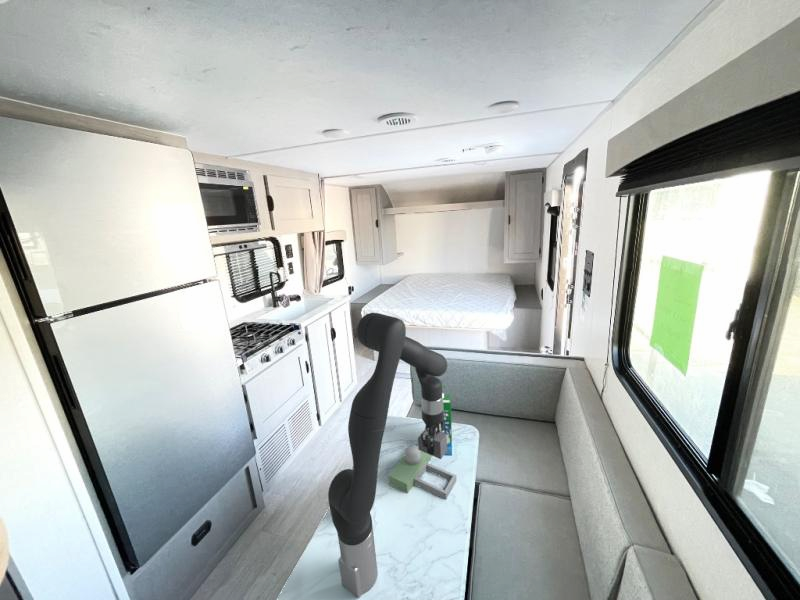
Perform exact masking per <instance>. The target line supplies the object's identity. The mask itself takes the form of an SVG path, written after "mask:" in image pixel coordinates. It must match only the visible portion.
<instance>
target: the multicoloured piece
mask: <svg viewBox="0 0 800 600" xmlns="http://www.w3.org/2000/svg"><path fill="white" fill-rule="evenodd" d="M431 456H432V455H430V454H427V453H425V452H422V451H420V450H418V445H416V444H412V445H408V446H406V448H405V450H404V455H403V457H402V458H401V459H400V460H399V462H398V463H397V464H396V466H395V467H394V468H393V469H392V470H391V472H390V473H389V474H388V483H389V485H390V484H391V485H390V486H392V485H393V486H392V487H394V486H395V488H396V487H397V489H398V488H399V490H400V489H401V491H402V490H403V491H402V492H404V491H405V493H406V492H407V493H406V494H409V492H410V491H411V489H412V488H413V486H414V485H415V484H416V485H415V486H417V485H418V486H417V487H419V486H420V487H419V488H421V487H422V488H421V489H423V488H424V489H423V490H425V489H426V490H425V491H427V490H429V491H428V492H429V493H432V494H434V495H435V496H438V497H441V498H442V497H443V499H444V500H447V499H448V497H449V495H450V493H451V491H452V490H453V488H454V487H455V484H456V482H457V474H454V473H452V472H450V471H447V470H444V469H442V468H441V467H437V466H436V465H433V464H431V463H430V462H431V460H432V459H431V458H432V457H431ZM429 461H430V462H429ZM428 462H429V463H428ZM428 470H429V471H428ZM425 471H428V472H430V471H431V472H430V473H432V472H433V473H432V474H434V473H435V475H437V476H439V475H440V476H439V477H441V476H442V478H444V479H446V480H449V481H448V484H447V486H446V487H445V489H443V488H441V487H438V486H436V485H434V484H432V483H430V482H428V481H425V480H423V479H422V478H423V476H424V475H423V474H425V473H426V472H425ZM424 472H425V473H424ZM422 475H423V476H422ZM421 477H422V478H421ZM420 478H421V479H420ZM413 484H414V485H413ZM411 487H412V488H411ZM409 490H410V491H409Z"/></svg>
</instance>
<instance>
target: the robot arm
mask: <svg viewBox="0 0 800 600" xmlns="http://www.w3.org/2000/svg"><path fill="white" fill-rule="evenodd" d="M360 318H361V319H360V320H359V322H358V323H357V326H356V337H357V339H358V341H359V343H360V344H361V345H363V346H364V347H365V348H367V349H368V350H371V351H376V353H377V352H378V357H377V361H376V365H375V369H374V371H373V373H372V375H371V377H370V378H369V379H368V380H367V382H366V383H365V384H363V386H361V388H360V389H359V390H358V392H356V394H355V396H353V399H352V404H351V407H350V412H349V417H348V418H349V419H348V424H347V425H348V426H347V431H348V439H349V440H348V441H349V447H350V451H351V457H352V466H353V467H352V469H351V468H347V469H343V470H340V471H339V472H338V473H336V475H334V477H333V478H332V480H331V483H330V484H329V488H328V493H327V496H328V497H327V498H328V499H327V500H328V504H329V505H328V506H329V510H330V514H331V519H332V521H331V522H332V523H333V525H334V528H335V530H336V533H337V539H338V544H339V545H338V547H339V553H340V557H338V560H337V561H338V566H339V573H340V574H339V575H340V579H341V585H342V586H343V587H344V588H346V589H347V590H348V591H349V592H350V593H352V594H353V595H354V596H355V597H357V598H360V597H361V596H362V594H365V593H367V592H369V590H371V589H372V588H373V587H374V585H375V584H376V582H377V579H378V574H379V573H378V564H377V555H376V554H377V553H376V546H375V537H374V527H373V520H372V518H373V517H372V515H371V511H372V509H373V506H374V503H375V499H376V493H377V483H378V482H377V481H378V472H379V462H380V455H381V450H382V444H383V443H382V442H383V439H384V435H385V433H384V432H385V429H386V425H387V424H386V423H387V419H388V413H389V407H390V401H391V397H392V390H393V386H394V381H395V378H396V377H395V376H396V373H397V369H398V366H399V363H400V360H401V361H402V362H404V363H406V364H407V365H409V366H411V367H414V369H415V372H416V376H417V378H418V381H419V384H420V386H421V390H420V392H421V393H420V394H421V404H420V406H421V407H420V409H421V419H422V422H423V423H424V424H425V427H424V430H425V433H424V434H423V432H421V434H420V435H421V440H422V444H423V446H424V447H427V453H428V454H431V456H432V455H433V454H434V449H433V440H435V438H436V434H437V433H438V432H441V431H443V429H444V417H445V415H444V408H443V397H442V393H443V383H442V381H441V379H440V378H438V377H441V376H443V375H444V374H445V373H446V372H447V369H448V361H447V359H446V357H445V356H444V355H443V354H441V353H438V352H436V351H434V350H431V349H429V348H427V347H426V346H425V345H423V344H422V343H420V342H419V341H417V340H415V339H412V338H410V337H408V336H406V334H407V332H406V330H407V327H406V325H405V322H404V321H403V319H401V318H398V317H394V316H390V315H387V314H383V313H381V312H369V313H367V314H366V313H365V314H364V315H363V316H362V317H360ZM428 434H429V435H428ZM430 435H432V436H433V437H432V436H430ZM430 440H431V442H430Z"/></svg>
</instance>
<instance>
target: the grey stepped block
mask: <svg viewBox="0 0 800 600" xmlns="http://www.w3.org/2000/svg"><path fill="white" fill-rule="evenodd" d="M422 433H423V434H424V433H425V429H424V430H423V431H422ZM428 435H429V434H428ZM430 436H432V435H430ZM432 437H433V436H432ZM430 442H431V440H430ZM417 446H418V450H420V451H422V452H425V453H427V447H424V446H423V444H422V440H421V434H420V435H419V436H418V437H417ZM433 449H434V454H433V455H431V454H430V455H431V456H432V457H435V458H437V459H439V460H442V458H443V457H444V456H445V455H444V454H445V453H446V451H447V434H446V433H443V432H438V433H437V434H436V438H435V440H433ZM427 454H428V453H427Z"/></svg>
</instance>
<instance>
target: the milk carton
mask: <svg viewBox="0 0 800 600" xmlns="http://www.w3.org/2000/svg"><path fill="white" fill-rule="evenodd" d="M450 395H451V394H444V392H442V397H443V408H444V415H445V417H444V429H443V431H441V432H443V433H446V434H447V451H446V453H445V454H444V456H453V438H452V437H453V436H452V434H453V433H452V428H453V427H452V399H451V396H450Z"/></svg>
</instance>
